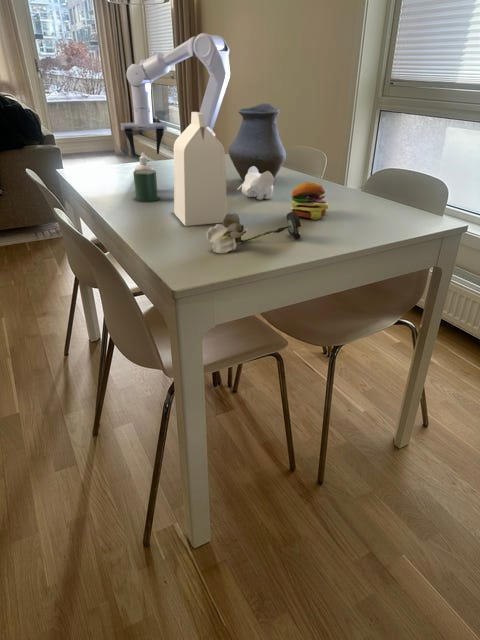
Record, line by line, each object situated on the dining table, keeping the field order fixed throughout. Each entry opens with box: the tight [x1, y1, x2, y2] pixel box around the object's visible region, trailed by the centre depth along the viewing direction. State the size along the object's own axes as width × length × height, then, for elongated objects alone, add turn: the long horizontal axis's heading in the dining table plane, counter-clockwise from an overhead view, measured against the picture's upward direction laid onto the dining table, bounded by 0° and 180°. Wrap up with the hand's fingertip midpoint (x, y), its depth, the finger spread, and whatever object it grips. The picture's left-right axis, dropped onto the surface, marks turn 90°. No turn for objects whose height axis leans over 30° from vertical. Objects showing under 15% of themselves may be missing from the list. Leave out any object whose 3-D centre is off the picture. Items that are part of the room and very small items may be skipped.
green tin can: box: [132, 169, 158, 203], centre depth 137 cm, size 7×7×8 cm
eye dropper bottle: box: [134, 152, 154, 171], centre depth 144 cm, size 4×6×12 cm
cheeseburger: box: [290, 181, 329, 221], centre depth 126 cm, size 10×11×10 cm
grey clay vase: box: [228, 103, 287, 182], centre depth 158 cm, size 21×22×25 cm
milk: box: [173, 111, 228, 227], centre depth 117 cm, size 12×12×26 cm
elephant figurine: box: [236, 166, 276, 201], centre depth 140 cm, size 10×12×9 cm
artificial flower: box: [206, 210, 302, 254], centre depth 104 cm, size 9×22×10 cm, turn 109°
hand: (146, 153), depth 150 cm, fingers open, 7 cm apart
